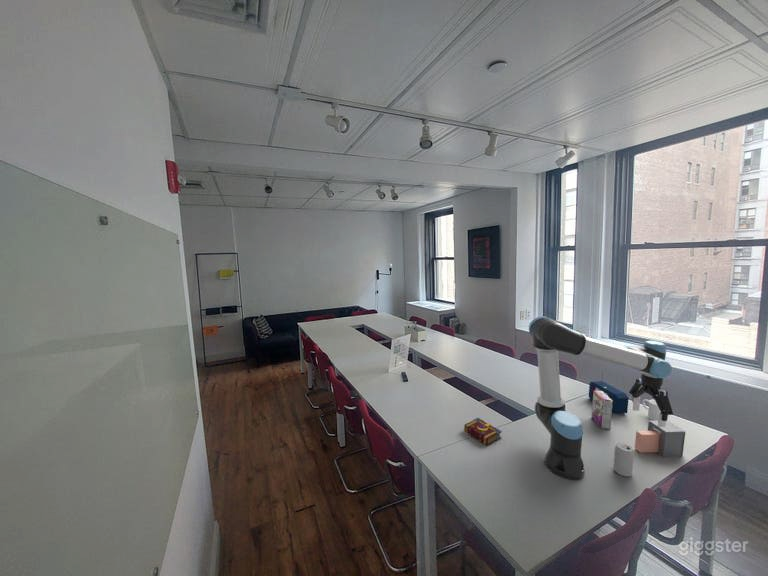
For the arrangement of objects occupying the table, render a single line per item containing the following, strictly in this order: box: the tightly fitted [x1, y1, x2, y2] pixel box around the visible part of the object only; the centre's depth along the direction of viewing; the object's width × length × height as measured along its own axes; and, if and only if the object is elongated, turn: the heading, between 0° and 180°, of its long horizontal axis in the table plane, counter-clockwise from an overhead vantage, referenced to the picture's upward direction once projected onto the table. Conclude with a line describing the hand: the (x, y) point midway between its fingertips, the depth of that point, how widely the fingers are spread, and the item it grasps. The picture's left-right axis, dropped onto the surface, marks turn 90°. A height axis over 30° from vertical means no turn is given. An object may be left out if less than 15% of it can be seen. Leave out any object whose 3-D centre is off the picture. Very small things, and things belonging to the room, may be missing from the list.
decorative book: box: [464, 417, 502, 447], centre depth 158 cm, size 11×16×5 cm
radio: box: [588, 371, 630, 415], centre depth 182 cm, size 21×9×20 cm, turn 6°
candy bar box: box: [591, 390, 613, 430], centre depth 165 cm, size 11×5×16 cm, turn 168°
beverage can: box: [612, 442, 635, 477], centre depth 130 cm, size 6×6×12 cm
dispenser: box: [647, 420, 687, 458], centre depth 143 cm, size 9×9×12 cm
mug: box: [641, 398, 669, 421], centre depth 170 cm, size 8×12×10 cm
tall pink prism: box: [634, 430, 660, 453], centre depth 143 cm, size 16×3×9 cm, turn 91°
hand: (648, 418), depth 141 cm, fingers open, 13 cm apart
